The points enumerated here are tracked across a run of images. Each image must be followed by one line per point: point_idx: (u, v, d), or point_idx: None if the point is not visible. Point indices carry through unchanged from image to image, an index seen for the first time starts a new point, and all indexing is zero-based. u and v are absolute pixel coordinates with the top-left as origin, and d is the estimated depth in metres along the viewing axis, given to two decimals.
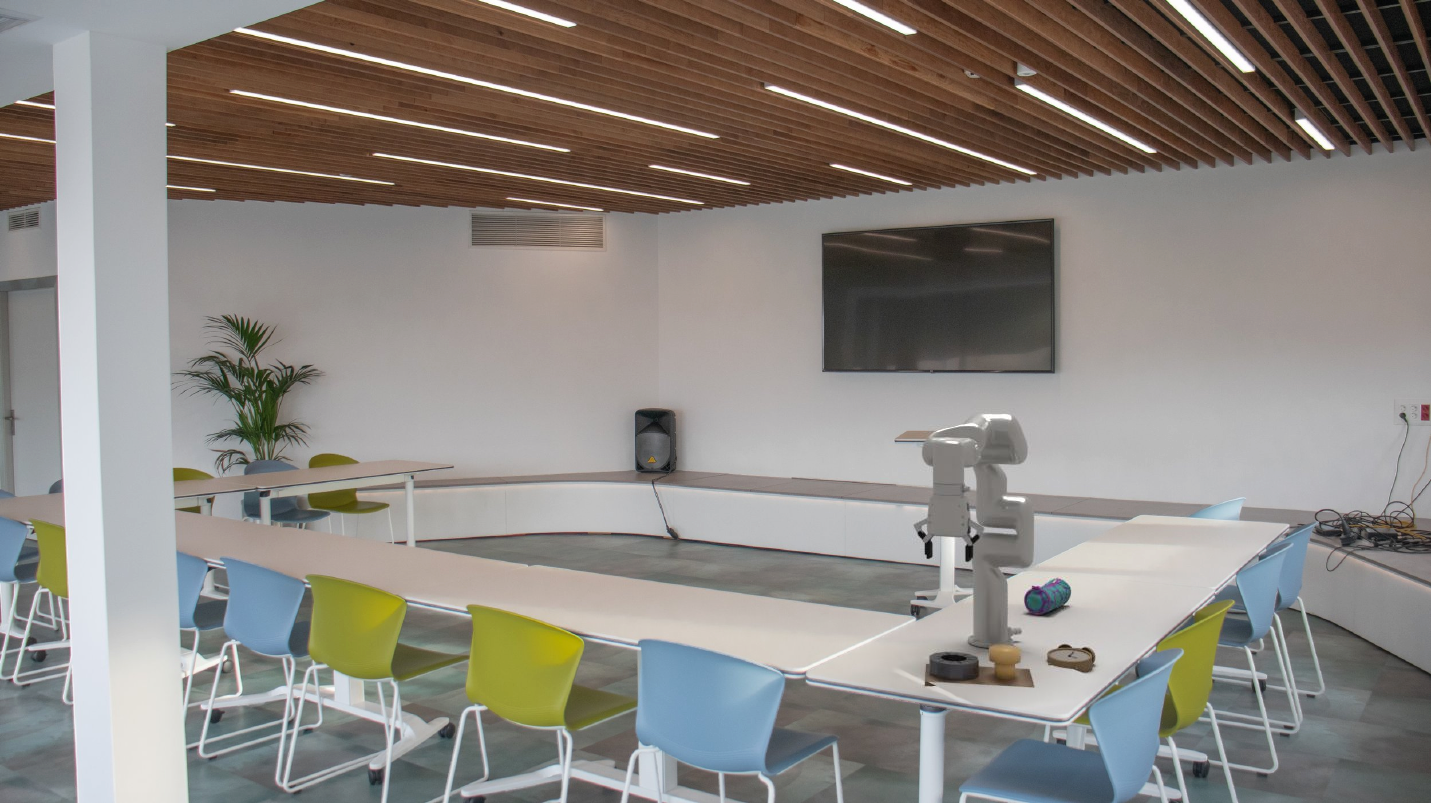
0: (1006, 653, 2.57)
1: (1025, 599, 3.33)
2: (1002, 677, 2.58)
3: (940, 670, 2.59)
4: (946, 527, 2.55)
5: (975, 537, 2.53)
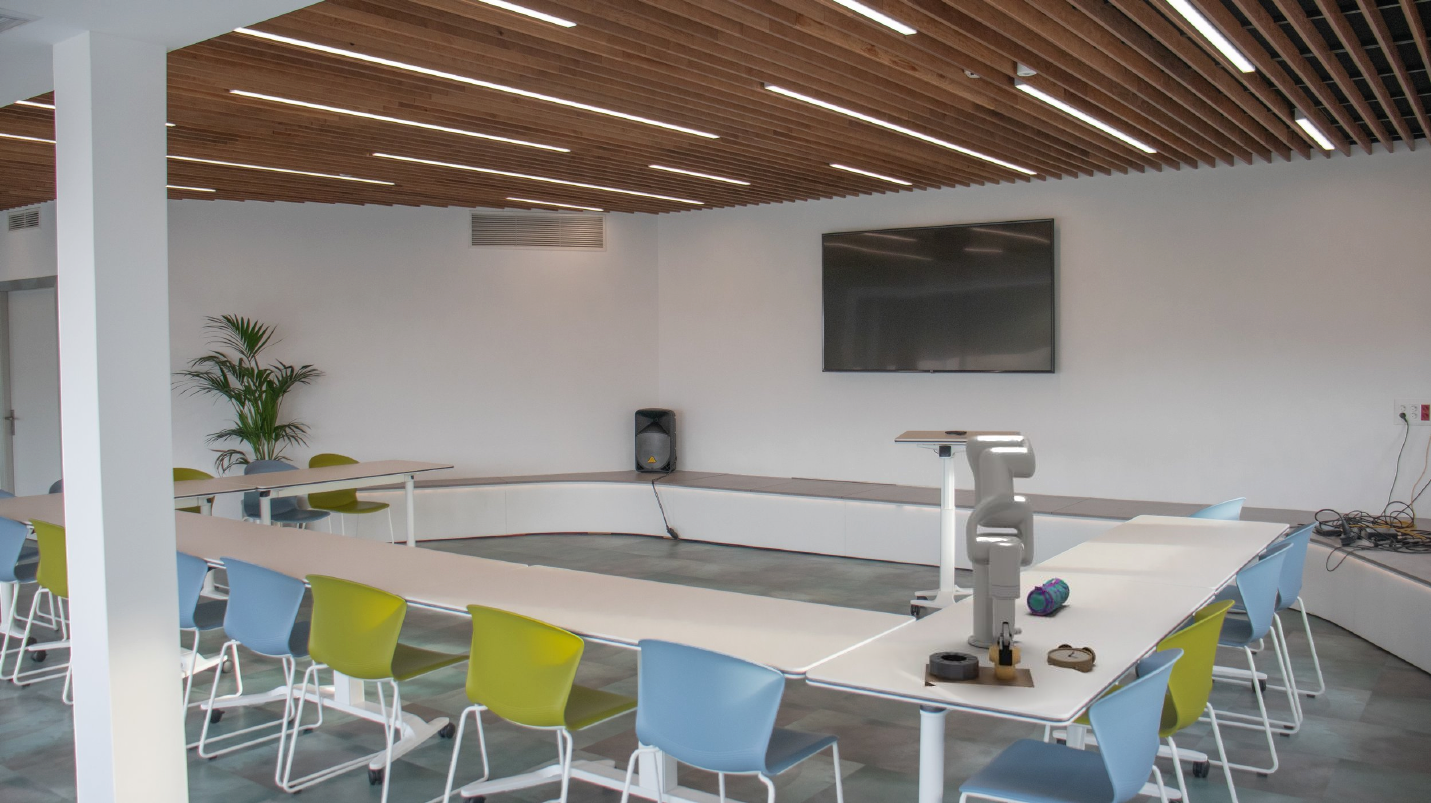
0: None
1: (1028, 600, 3.32)
2: (1002, 677, 2.58)
3: (940, 670, 2.59)
4: None
5: None
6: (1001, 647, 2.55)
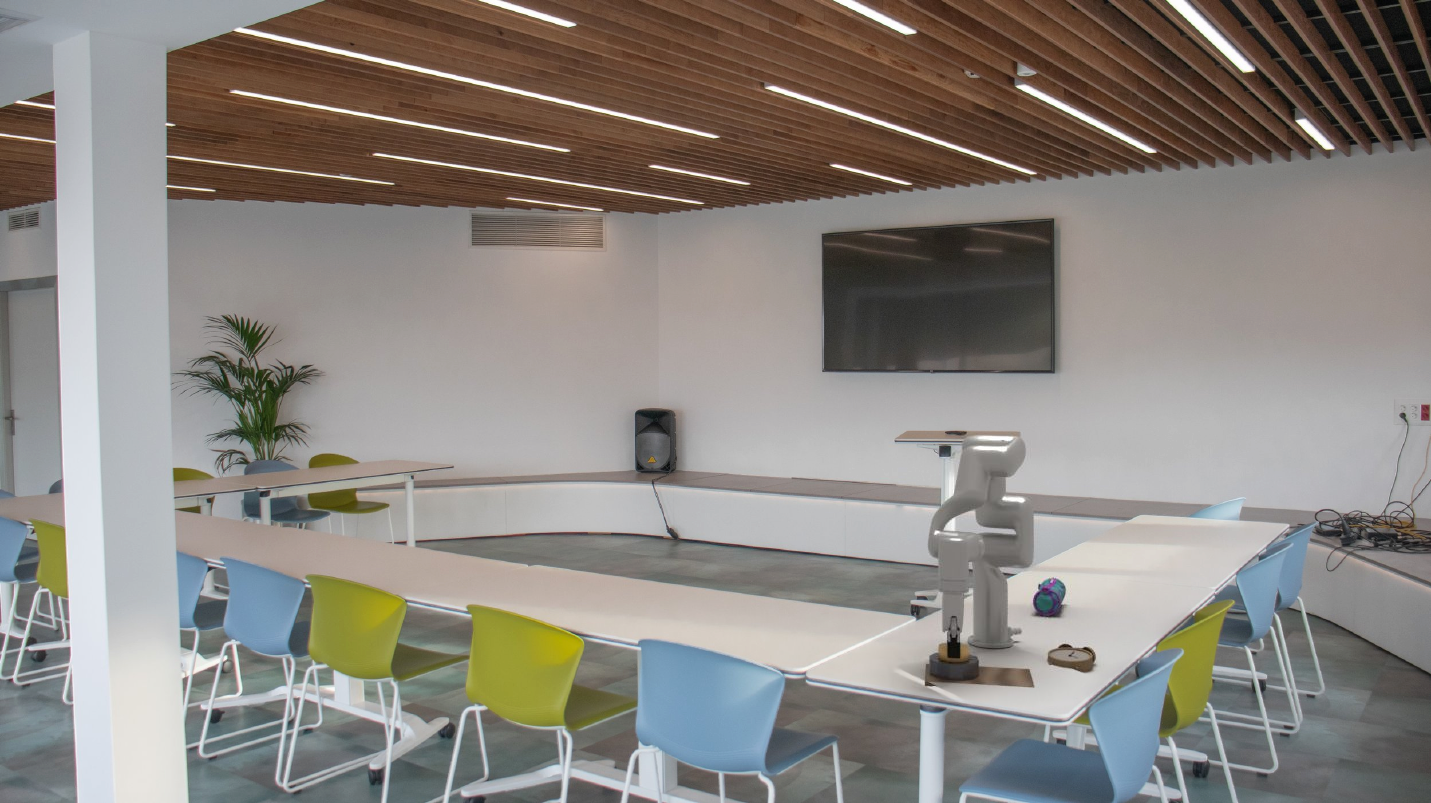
0: None
1: (1034, 601, 3.31)
2: None
3: (940, 670, 2.59)
4: None
5: None
6: (949, 639, 2.57)
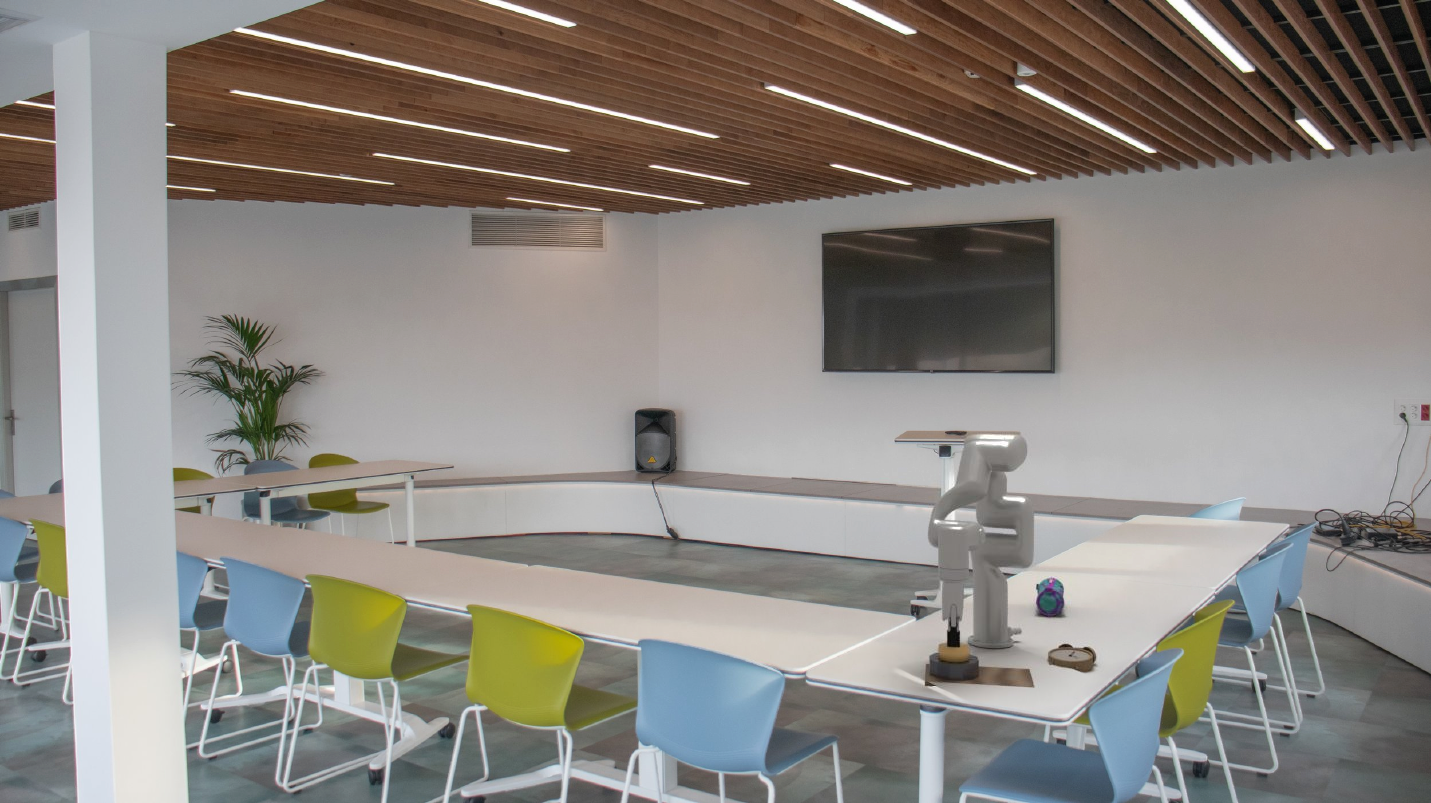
0: (954, 651, 2.59)
1: (1038, 601, 3.30)
2: None
3: (940, 670, 2.59)
4: None
5: None
6: (949, 630, 2.61)
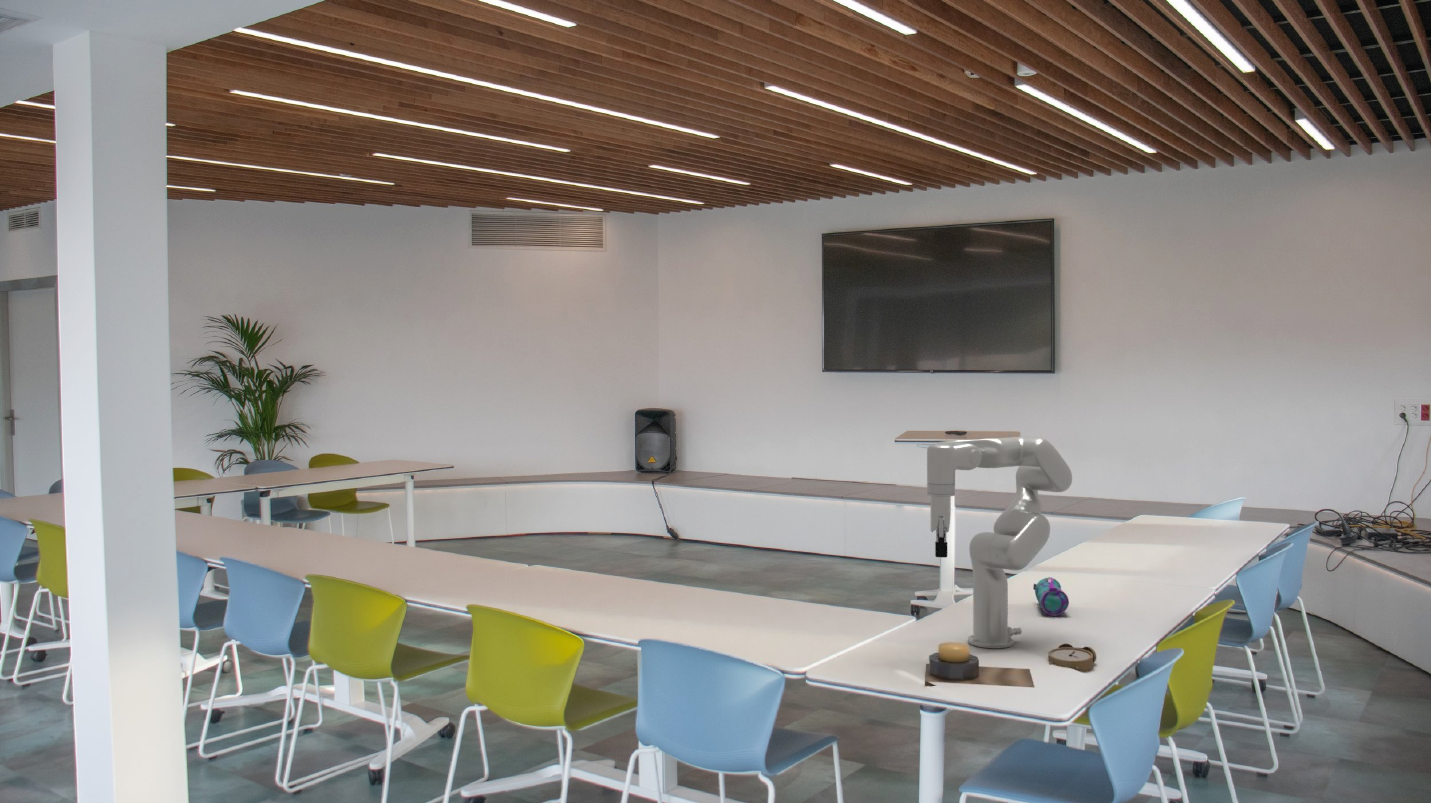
0: (954, 651, 2.59)
1: (1043, 601, 3.29)
2: None
3: (940, 670, 2.59)
4: None
5: None
6: (937, 541, 2.83)
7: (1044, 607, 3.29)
